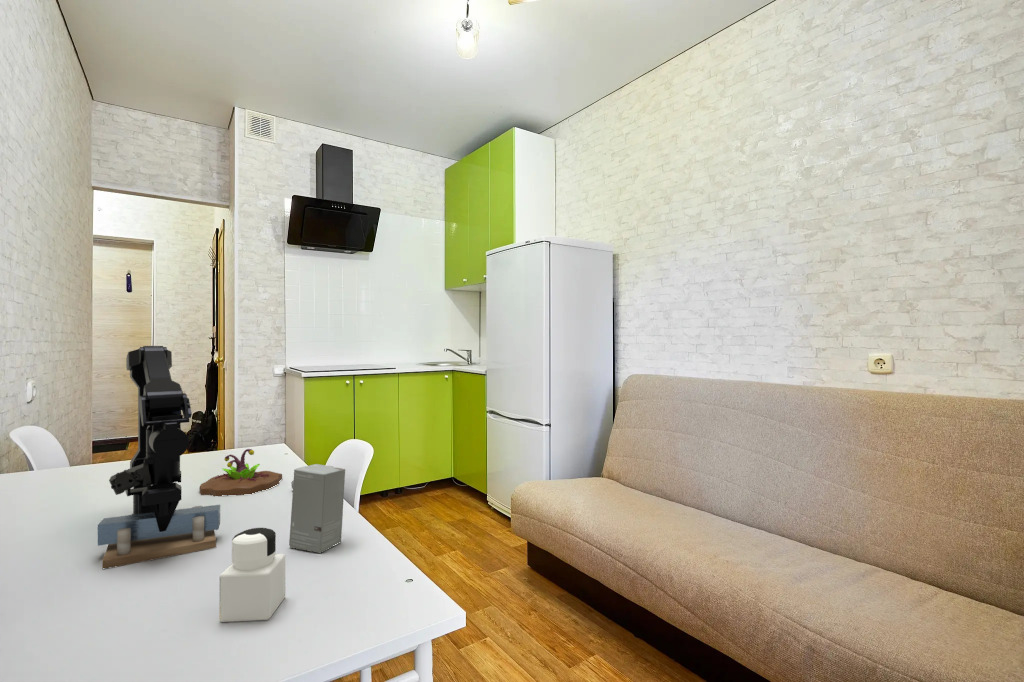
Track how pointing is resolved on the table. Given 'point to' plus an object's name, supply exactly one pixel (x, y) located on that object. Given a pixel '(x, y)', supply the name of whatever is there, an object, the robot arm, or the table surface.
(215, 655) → the table surface
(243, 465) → the plant
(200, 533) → the peg rack
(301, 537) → the skincare box
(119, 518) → the steel bar
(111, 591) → the table surface
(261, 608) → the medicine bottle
